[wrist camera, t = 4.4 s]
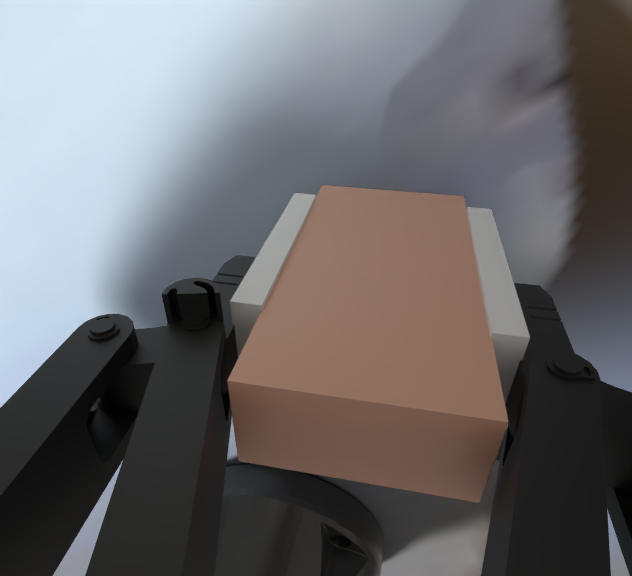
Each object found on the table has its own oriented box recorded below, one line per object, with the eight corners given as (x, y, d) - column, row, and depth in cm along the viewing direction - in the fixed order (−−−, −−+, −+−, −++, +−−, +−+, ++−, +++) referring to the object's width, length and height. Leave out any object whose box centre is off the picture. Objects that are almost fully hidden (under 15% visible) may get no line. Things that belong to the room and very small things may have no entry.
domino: (452, 256, 17) (479, 503, 9) (321, 243, 18) (238, 461, 10) (464, 196, 16) (508, 422, 8) (322, 185, 17) (227, 380, 9)
